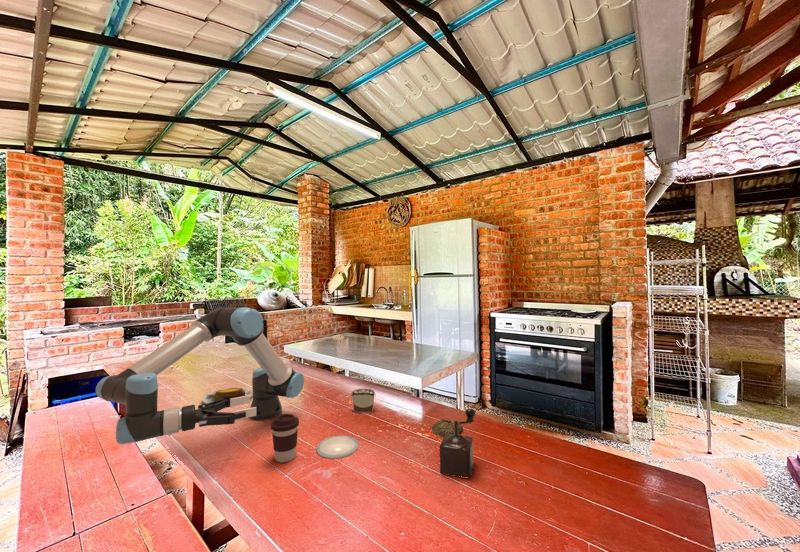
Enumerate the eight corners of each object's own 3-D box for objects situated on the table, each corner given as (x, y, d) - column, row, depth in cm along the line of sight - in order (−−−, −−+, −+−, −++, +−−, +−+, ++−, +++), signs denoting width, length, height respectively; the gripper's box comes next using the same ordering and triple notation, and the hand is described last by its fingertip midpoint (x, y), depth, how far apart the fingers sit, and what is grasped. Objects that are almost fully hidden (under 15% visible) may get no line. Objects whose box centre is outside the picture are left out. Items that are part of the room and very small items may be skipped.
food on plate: (244, 388, 198) (244, 378, 198) (260, 399, 181) (260, 387, 181) (196, 400, 180) (196, 388, 180) (209, 413, 163) (209, 400, 163)
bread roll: (466, 431, 141) (466, 419, 141) (450, 441, 132) (450, 429, 132) (442, 422, 149) (442, 411, 149) (425, 431, 140) (425, 420, 140)
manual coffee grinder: (472, 480, 106) (471, 425, 106) (439, 474, 110) (438, 420, 110) (477, 455, 121) (476, 407, 121) (447, 450, 124) (447, 403, 124)
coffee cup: (304, 453, 123) (304, 414, 123) (285, 467, 114) (285, 425, 114) (285, 448, 127) (284, 410, 127) (265, 461, 118) (264, 420, 118)
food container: (377, 407, 166) (377, 388, 166) (375, 412, 160) (375, 392, 160) (354, 407, 167) (353, 387, 167) (351, 412, 161) (350, 391, 161)
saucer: (311, 444, 130) (311, 442, 130) (348, 433, 139) (348, 431, 139) (324, 463, 117) (324, 461, 117) (364, 450, 125) (364, 448, 125)
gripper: (181, 417, 114) (247, 404, 125) (179, 447, 93) (259, 428, 104) (181, 396, 114) (247, 384, 125) (179, 421, 93) (259, 405, 105)
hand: (252, 404), depth 115 cm, fingers open, 13 cm apart
